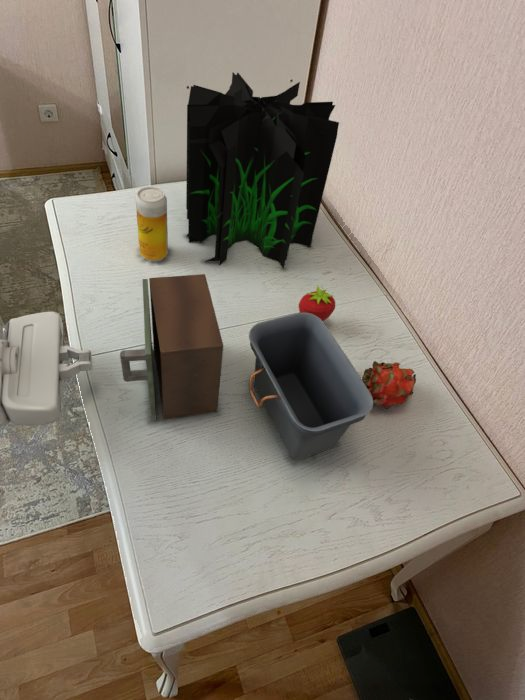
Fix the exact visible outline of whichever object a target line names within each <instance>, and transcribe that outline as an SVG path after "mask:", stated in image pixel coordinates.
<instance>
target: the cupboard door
mask: <svg viewBox="0 0 525 700" xmlns="http://www.w3.org/2000/svg"><path fill="white" fill-rule="evenodd" d="M142 301H143V324H144V325H143V327H144V348H142V349H141V348H139V349H124V350H121V351H120V352H119V359H120V365H121V372H122V379H123V381H124V382H127V383H128V382H143V381H147V387H148V388H147V389H148V398H149V400H148V401H149V413H150V420H151V422H153V421H157V415H156V414H157V413H156V411H157V410H156V393H155V375H154V357H153V354H154V352H153V336H152V321H151V306H150V291H149V279H148V278H143V279H142ZM141 361H145V363H146V364H145V366H146V369H136V370H132V369H131V362H141Z"/></svg>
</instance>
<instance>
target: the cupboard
mask: <svg viewBox="0 0 525 700" xmlns="http://www.w3.org/2000/svg"><path fill="white" fill-rule="evenodd" d="M148 284H149V300H150V316H151V331H152V347H153V354H154V360H155V368H156V374H157V381H158V388H159V395H160V403H161V408H162V417H163V420H169V419H170V420H171V419H177V418H185V417H192V416H200V415H207V414H213V413H218V405H219V396H220V395H219V394H220V387H221V386H220V385H221V375H222V364H223V356H224V355H223V354H224V343H223V338H222V335H221V331H220V327H219V322H218V319H217V315H216V311H215V307H214V304H213V300H212V295H211V292H210V288H209V284H208V281H207V275H206V274H204V273H202V274H201V273H200V274H187V275H174V276H173V275H172V276H171V275H170V276H157V277H149V279H148Z"/></svg>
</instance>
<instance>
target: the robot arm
mask: <svg viewBox="0 0 525 700" xmlns="http://www.w3.org/2000/svg"><path fill="white" fill-rule="evenodd" d="M61 316H62V315H61V314H60V313H58V312H56V311H42V312H36V313H32V314H26V315H22V316H18V317H13V318H10V319H9V320H8V321H7V322H6V323H5V324H3V325H2V327H1V336H0V427H4V426H7V425H9V424H10V423H11V424H13V425H15V426H20V427H22V426H23V427H25V426H26V427H27V426H42V425H44V426H45V425H51V424H54V423H55V422H57V421H58V420H59V419H61V417H62V394H63V393H62V392H63V391H62V390H63V389H62V388H63V380H70V379H72V378H73V377H75V376H77V375H79V374H80V373H81V372H88V371H89V372H91V371H92V370H93V354H92V350H91V349H78V348H75V347H73V346H69V345H63V344H64V323H63V320H62V317H61ZM71 359H73V360H76V362H74V363H72V364H70V365H68V363H63V362H69V361H70V360H71Z"/></svg>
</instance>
